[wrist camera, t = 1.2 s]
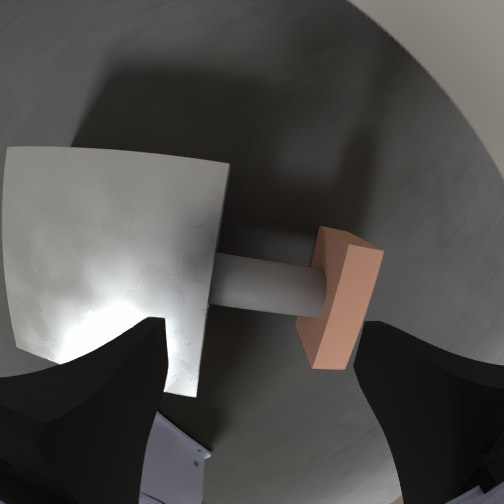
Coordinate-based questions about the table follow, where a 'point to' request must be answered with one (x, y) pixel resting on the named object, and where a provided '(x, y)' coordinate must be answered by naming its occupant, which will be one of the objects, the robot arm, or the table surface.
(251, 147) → the table surface
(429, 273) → the table surface
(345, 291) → the rod with pink block
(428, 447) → the robot arm
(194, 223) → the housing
